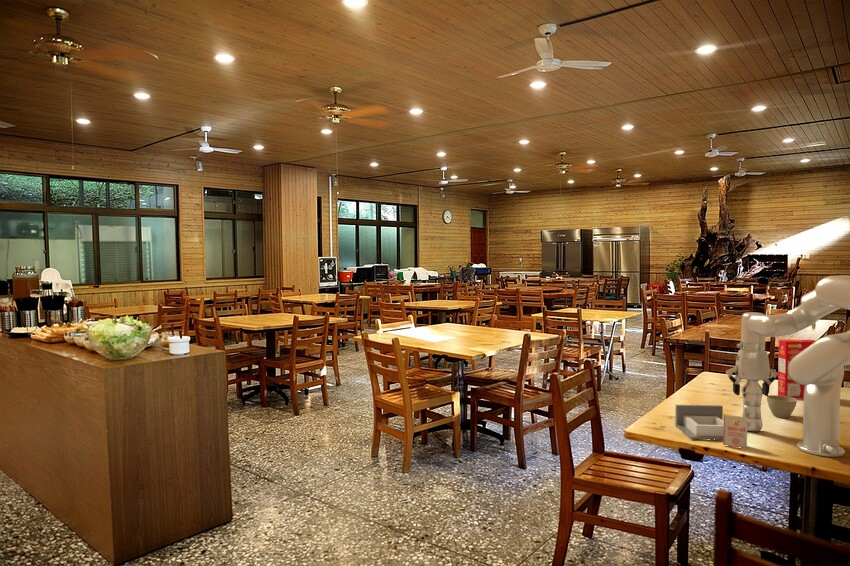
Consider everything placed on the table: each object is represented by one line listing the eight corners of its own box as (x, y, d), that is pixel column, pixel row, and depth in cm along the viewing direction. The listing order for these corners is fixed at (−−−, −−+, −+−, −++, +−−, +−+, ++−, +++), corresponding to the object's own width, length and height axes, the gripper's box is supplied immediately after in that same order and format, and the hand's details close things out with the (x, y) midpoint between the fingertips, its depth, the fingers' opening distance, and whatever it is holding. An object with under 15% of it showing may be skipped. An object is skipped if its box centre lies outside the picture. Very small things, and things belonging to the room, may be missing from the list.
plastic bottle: (765, 434, 201) (766, 377, 200) (744, 433, 202) (745, 377, 201) (758, 428, 207) (759, 373, 206) (738, 427, 208) (739, 373, 208)
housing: (740, 441, 194) (740, 417, 193) (691, 440, 195) (691, 416, 195) (720, 427, 209) (720, 405, 209) (675, 426, 211) (675, 404, 211)
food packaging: (811, 395, 255) (812, 339, 254) (819, 398, 249) (820, 341, 248) (777, 395, 255) (778, 339, 254) (784, 398, 250) (786, 341, 249)
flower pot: (782, 421, 216) (782, 402, 216) (760, 414, 226) (760, 396, 226) (802, 418, 219) (803, 400, 219) (780, 411, 229) (780, 394, 228)
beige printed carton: (723, 442, 192) (723, 413, 192) (746, 445, 189) (747, 415, 188) (723, 446, 189) (723, 416, 188) (746, 449, 186) (747, 418, 185)
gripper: (731, 348, 200) (730, 396, 202) (783, 349, 199) (781, 398, 200) (722, 345, 208) (721, 391, 209) (772, 345, 206) (770, 392, 207)
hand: (750, 394), depth 205 cm, fingers open, 9 cm apart
